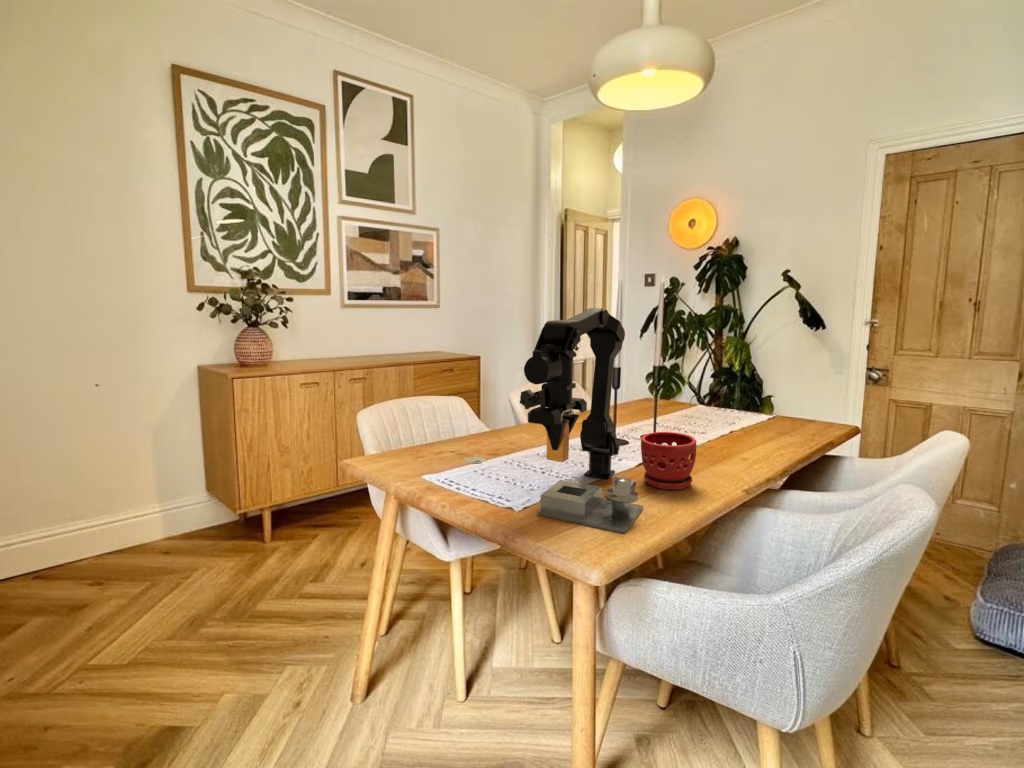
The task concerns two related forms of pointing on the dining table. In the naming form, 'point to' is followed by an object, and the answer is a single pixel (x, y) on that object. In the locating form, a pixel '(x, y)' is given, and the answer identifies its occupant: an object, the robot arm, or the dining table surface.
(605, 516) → the grey metal frame fixture
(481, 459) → the mounting bracket
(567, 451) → the rectangular wooden peg
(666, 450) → the plant pot
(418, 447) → the dining table surface
